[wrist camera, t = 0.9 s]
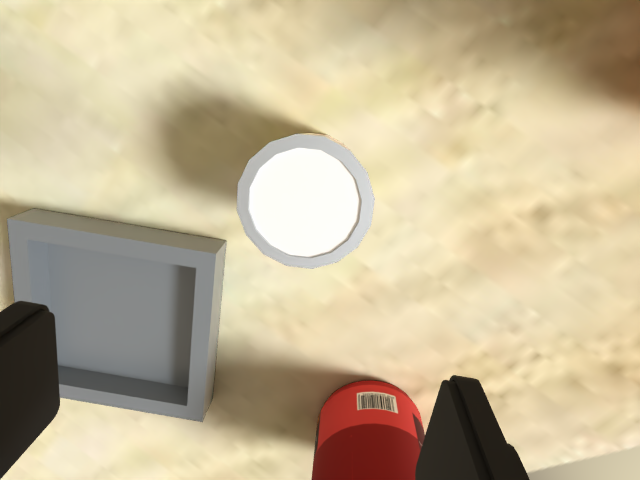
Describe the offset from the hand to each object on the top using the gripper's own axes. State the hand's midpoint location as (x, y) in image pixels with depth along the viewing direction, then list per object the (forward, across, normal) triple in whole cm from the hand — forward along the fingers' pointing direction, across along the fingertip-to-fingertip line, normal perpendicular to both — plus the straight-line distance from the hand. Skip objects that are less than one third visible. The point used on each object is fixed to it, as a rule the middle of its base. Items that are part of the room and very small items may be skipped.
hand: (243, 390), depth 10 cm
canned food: (+19, -7, +17) cm, 26 cm away
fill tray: (+19, +12, +11) cm, 25 cm away
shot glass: (+19, 0, -1) cm, 19 cm away
